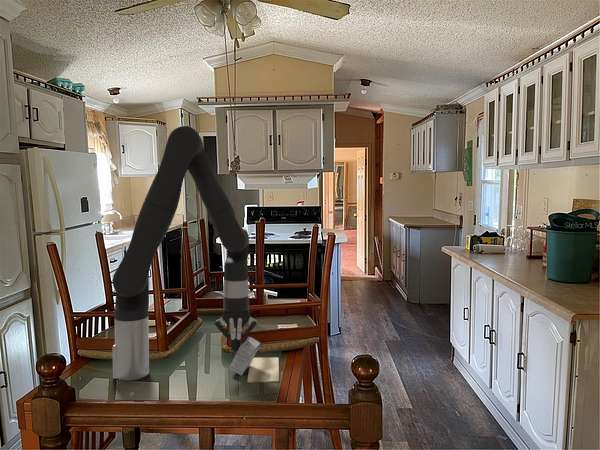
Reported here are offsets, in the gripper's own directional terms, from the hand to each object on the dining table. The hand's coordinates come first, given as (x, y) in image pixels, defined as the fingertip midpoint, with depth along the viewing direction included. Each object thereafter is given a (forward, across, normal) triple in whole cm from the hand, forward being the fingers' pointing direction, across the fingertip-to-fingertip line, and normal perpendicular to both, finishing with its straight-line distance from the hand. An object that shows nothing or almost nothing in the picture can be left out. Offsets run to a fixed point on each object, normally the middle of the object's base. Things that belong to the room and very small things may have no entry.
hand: (236, 350), depth 133 cm
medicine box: (+5, +1, 0) cm, 5 cm away
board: (+6, +8, 0) cm, 10 cm away
